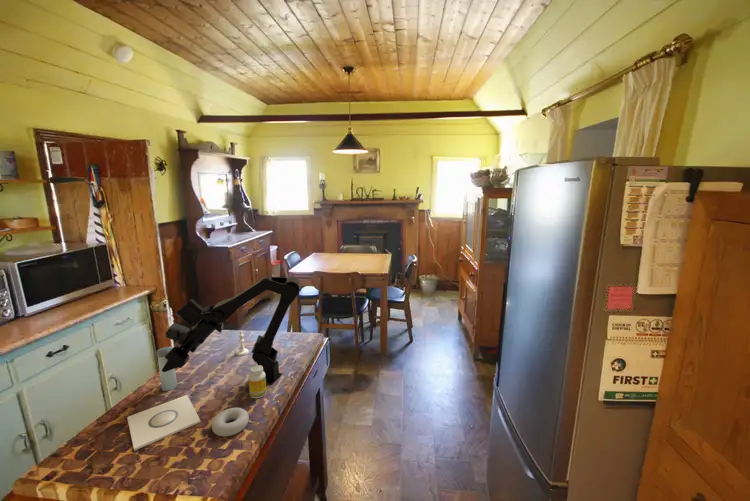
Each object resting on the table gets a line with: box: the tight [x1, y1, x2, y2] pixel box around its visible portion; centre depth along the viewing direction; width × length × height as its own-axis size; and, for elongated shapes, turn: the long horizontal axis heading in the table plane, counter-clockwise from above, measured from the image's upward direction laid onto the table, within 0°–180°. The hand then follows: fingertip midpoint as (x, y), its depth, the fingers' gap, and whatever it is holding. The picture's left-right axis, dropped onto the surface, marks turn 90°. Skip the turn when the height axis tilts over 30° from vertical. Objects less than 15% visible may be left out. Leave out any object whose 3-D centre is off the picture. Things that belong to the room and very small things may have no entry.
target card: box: [127, 394, 201, 451], centre depth 96 cm, size 16×16×1 cm
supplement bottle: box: [248, 364, 267, 399], centre depth 108 cm, size 5×5×10 cm
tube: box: [156, 346, 178, 392], centre depth 111 cm, size 5×5×14 cm
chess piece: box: [236, 330, 250, 357], centre depth 135 cm, size 5×5×10 cm
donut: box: [211, 407, 250, 438], centre depth 94 cm, size 10×4×10 cm
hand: (169, 363), depth 111 cm, fingers open, 9 cm apart
